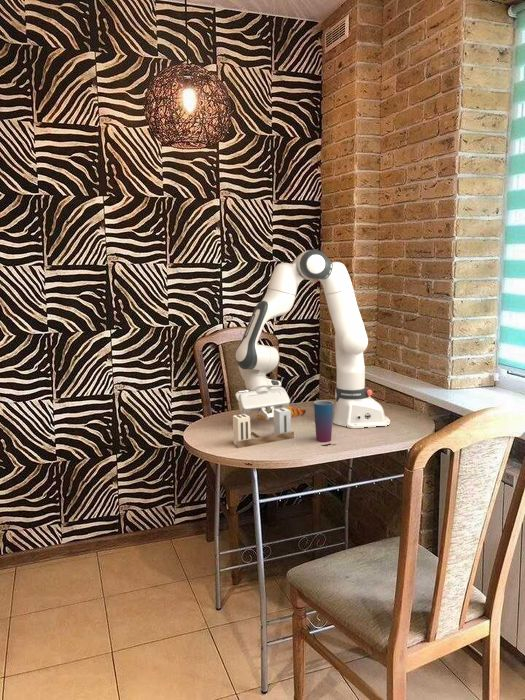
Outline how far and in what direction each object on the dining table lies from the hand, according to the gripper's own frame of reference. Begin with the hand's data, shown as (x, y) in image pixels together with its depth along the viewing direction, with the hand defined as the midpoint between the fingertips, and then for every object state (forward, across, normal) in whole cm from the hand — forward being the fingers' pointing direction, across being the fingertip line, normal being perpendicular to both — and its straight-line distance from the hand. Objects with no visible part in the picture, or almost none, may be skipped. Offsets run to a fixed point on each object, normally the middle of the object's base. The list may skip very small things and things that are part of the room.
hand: (270, 418), depth 208 cm
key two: (+9, -16, -3) cm, 19 cm away
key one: (+9, 0, -3) cm, 10 cm away
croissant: (-7, +13, +16) cm, 22 cm away
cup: (+18, +11, -9) cm, 23 cm away
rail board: (+8, -8, 0) cm, 11 cm away
